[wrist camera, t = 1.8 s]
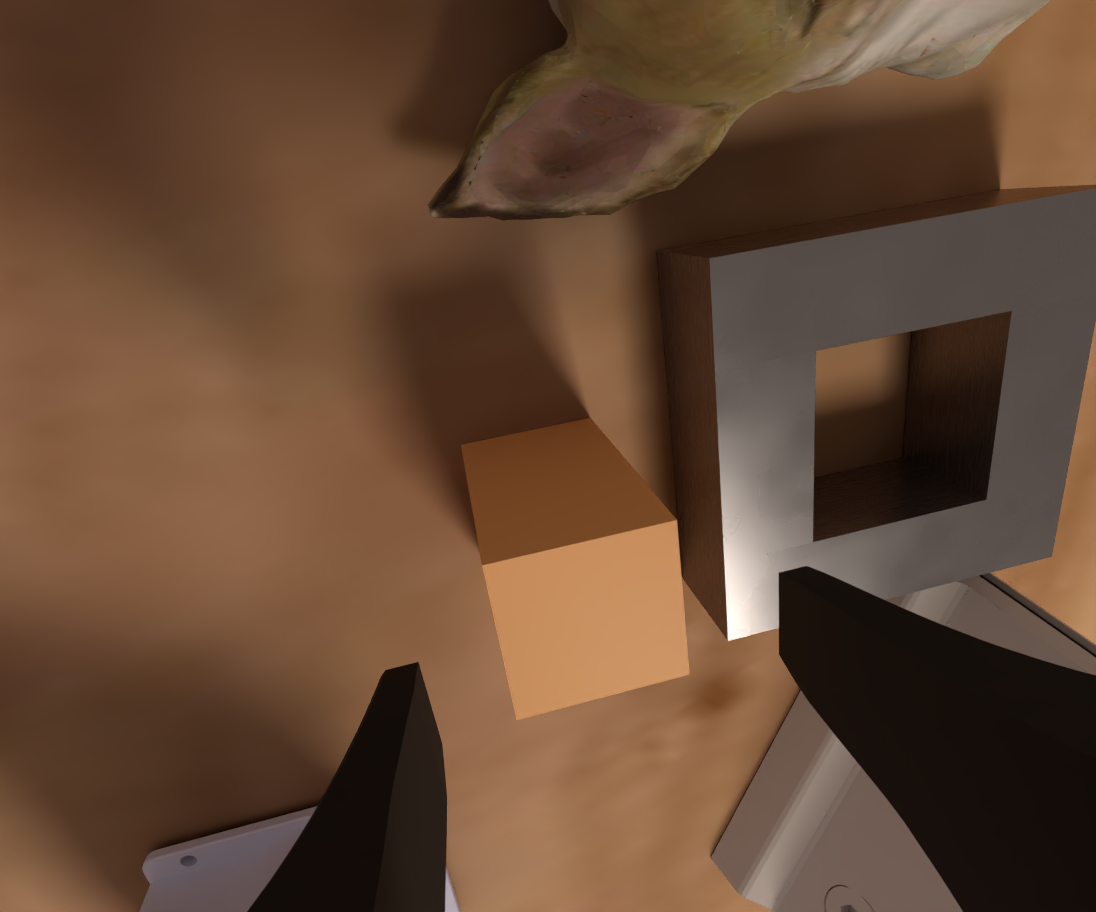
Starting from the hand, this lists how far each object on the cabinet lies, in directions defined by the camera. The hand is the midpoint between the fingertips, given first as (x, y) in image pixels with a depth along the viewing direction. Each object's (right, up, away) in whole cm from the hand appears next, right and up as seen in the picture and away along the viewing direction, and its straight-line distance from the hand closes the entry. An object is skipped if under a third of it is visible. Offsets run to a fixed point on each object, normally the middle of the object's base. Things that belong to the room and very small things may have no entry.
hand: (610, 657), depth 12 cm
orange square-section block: (-2, +3, +7) cm, 8 cm away
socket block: (+8, +6, +8) cm, 13 cm away
